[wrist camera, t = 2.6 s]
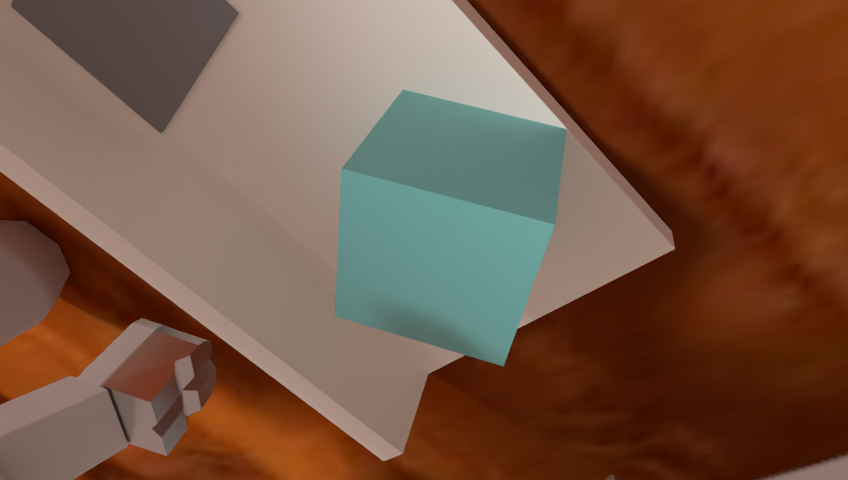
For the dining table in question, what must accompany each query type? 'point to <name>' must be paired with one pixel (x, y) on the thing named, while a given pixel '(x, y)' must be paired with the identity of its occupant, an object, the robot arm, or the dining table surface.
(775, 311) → the dining table surface
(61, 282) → the salt shaker
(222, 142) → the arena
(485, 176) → the cube
